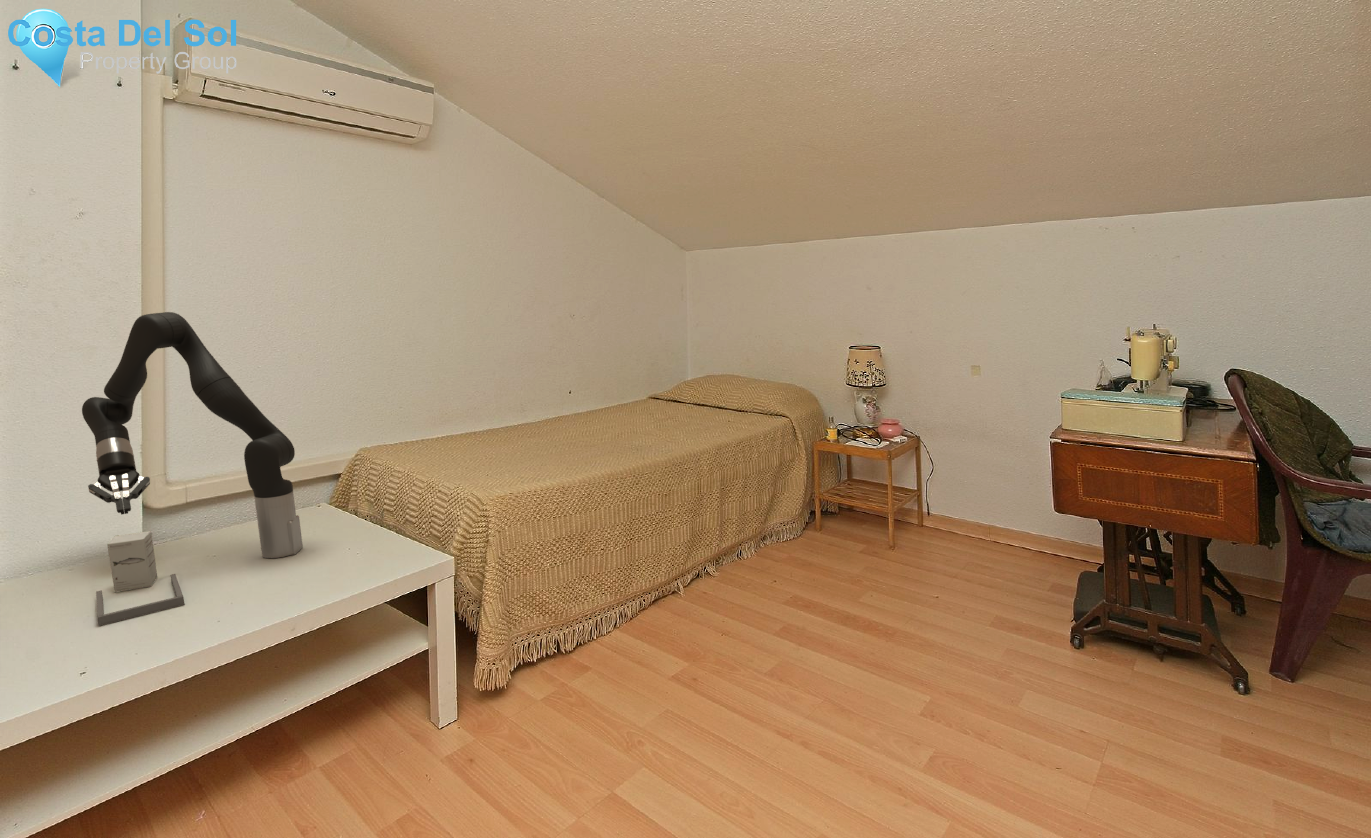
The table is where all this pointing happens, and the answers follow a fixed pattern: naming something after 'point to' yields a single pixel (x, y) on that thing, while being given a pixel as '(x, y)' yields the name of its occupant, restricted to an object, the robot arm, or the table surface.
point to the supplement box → (132, 561)
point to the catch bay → (138, 610)
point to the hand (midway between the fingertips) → (124, 512)
